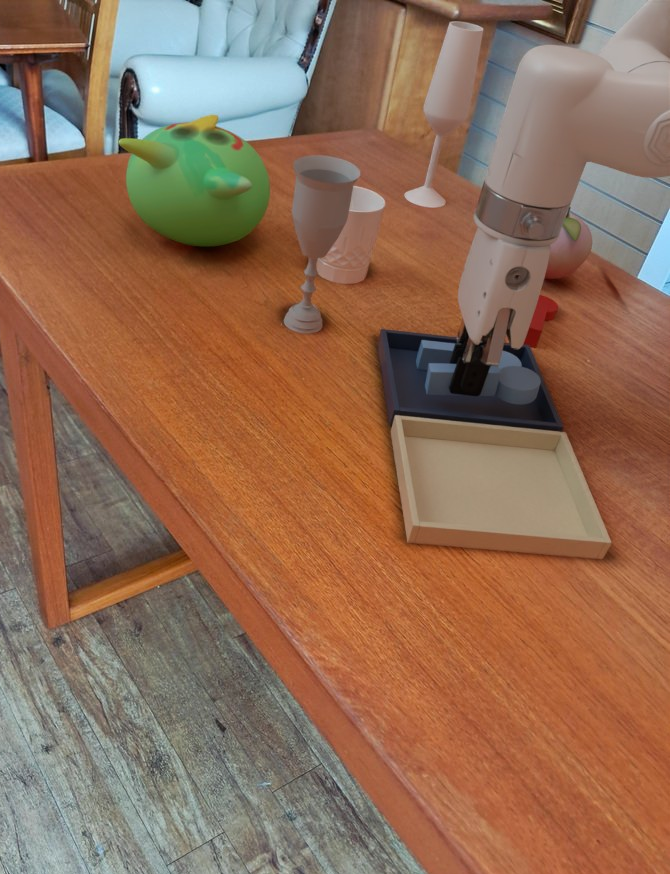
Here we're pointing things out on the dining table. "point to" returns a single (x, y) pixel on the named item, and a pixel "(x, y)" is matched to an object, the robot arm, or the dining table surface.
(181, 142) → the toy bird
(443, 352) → the blue spoon
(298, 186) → the chalice
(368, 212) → the white cup
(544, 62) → the robot arm
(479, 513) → the cream tray
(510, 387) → the blue spoon
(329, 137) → the dining table surface
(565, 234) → the decorative fruit
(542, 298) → the red spoon
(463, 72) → the champagne flute
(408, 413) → the blue tray
